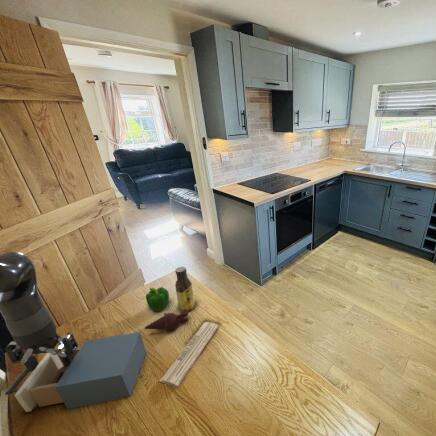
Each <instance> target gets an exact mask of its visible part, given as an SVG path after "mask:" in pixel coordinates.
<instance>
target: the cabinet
mask: <svg viewBox="0 0 436 436" xmlns="http://www.w3.org/2000/svg"><path fill="white" fill-rule="evenodd" d="M80 347H81V348H80ZM80 347H79V348H80V350H79V351H78V353H77V354H76V356H75V357H74V359H73V360H72V362H71V363H70V365H69V367H68V368H67V370H66V371H65V373H64V374H63V376H62V377H61V379H60V380H59V382H58V383H57V385H56V387H55V388H56V390H57V392H58V393H59V395H60V397H61V398H62V400H63V402H62V403H64V405H65V407H66V408H67V410H70V409H76V408H80V407H85V406H90V405H95V404H100V403H104V402H110V401H113V400H114V401H115V400H118V399H119V400H120V399H123V398H128V397H131V395H132V393H133V390H134V387H135V384H136V381H137V379H138V375H139V373H140V370H141V367H142V365H143V362H144V360H145V357H146V354H147V350H146V347H145V343H144V340H143V338H142V335H141V332H140V331H135V332H131V333H130V332H129V333H124V334H118V335H117V334H116V335H111V336H104V337H98V338H92V339H85V341H84V342H83V343H82V344H81V346H80Z"/></svg>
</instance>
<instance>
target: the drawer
mask: <svg viewBox="0 0 436 436" xmlns="http://www.w3.org/2000/svg"><path fill="white" fill-rule="evenodd" d="M81 347H82V346H79V347H77V349H76V350H75V352H74V353H73V357H75V356H76V354H77V353H78V351H79V350H80V348H81ZM61 351H63V352H64V351H65V350H64V349H61ZM63 366H65V364H64V362H63V360H62V357H61V356H59V355H57V354H56V355H52V354H50V353H45V355H44V356H43V358H42V359H41V360H40V361H39V362H38V366H37V367H36V368H35V370H34V371H29V369H27V368H26V367H25V368H24V369H23V370H22V372H20V373H19V375H18V376H17V377H16V379H15V380H14V381H13V383H11V384H10V386H9V387H8V389H7V390H6V391H5V392H4V394H5V396H11V395H12V394H13V396H14V397H15V399H16V400H17V402H18V403H19V404H20V407H22V409H23V410H24V411H25V413H28V412H32V410H35V409H36V408H37V406H38V407H39V408H42V407H47V406H52V405H57V404H61V403H64V402H63V400H62V398H61V397H60V395H59V393H58V392H57V390H56V388H55V387H56V385H57V383H54V384H50V383H51V382H52V380H53V379H54V378H55V376H56V375H57V371H58V370H59V369H60V368H61V367H63ZM29 372H31V373H30V374H29ZM28 374H29V376H28V377H27V378H26V380H25V381H24V382H23V384H22V385H21V386H20V387H18V386H19V385H20V384H21V383H22V381H23V380H24V379H25V377H26V376H27V375H28ZM14 393H15V394H14Z"/></svg>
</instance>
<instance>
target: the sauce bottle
mask: <svg viewBox="0 0 436 436" xmlns="http://www.w3.org/2000/svg"><path fill="white" fill-rule="evenodd" d="M187 271H188V270H187V268H186V266H178V267H176V268H175V270H174V272H175V274H176V281H175V285H174V286H175V292H176V297H177V303H178V308H179V310H180V312H181V313H182V312H187V313H189V312H191V311H193V310H194V308H195V307H196V305H195V303H196V301H195V295H194V290H193V283H192V282H191V280H190V279H189V277H188V275H187Z"/></svg>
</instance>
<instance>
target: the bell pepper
mask: <svg viewBox="0 0 436 436" xmlns="http://www.w3.org/2000/svg"><path fill="white" fill-rule="evenodd" d="M145 300H146V304H147V305H148V307H149V308H150V309H151V310H152V311H154V312H161V311H163V310H164V309H166V308H167V306H168V304H169V302H170V292H169V291H168V289H166V288H165V287H162V286H161V287H158V288H155V287H149V291H148V293H146V295H145Z"/></svg>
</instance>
